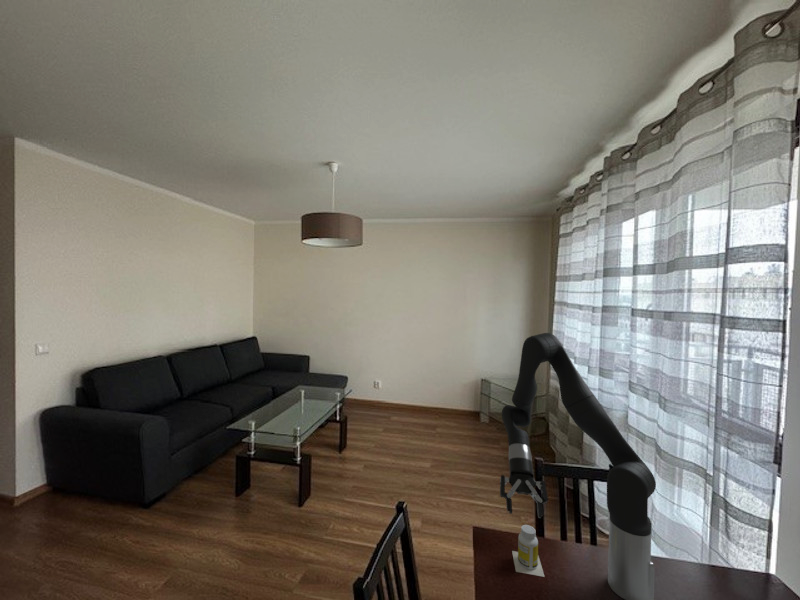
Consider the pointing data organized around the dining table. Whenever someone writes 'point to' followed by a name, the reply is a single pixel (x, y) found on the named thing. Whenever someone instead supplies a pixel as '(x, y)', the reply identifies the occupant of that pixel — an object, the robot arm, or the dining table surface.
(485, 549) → the dining table surface
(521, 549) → the supplement bottle
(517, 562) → the tile
